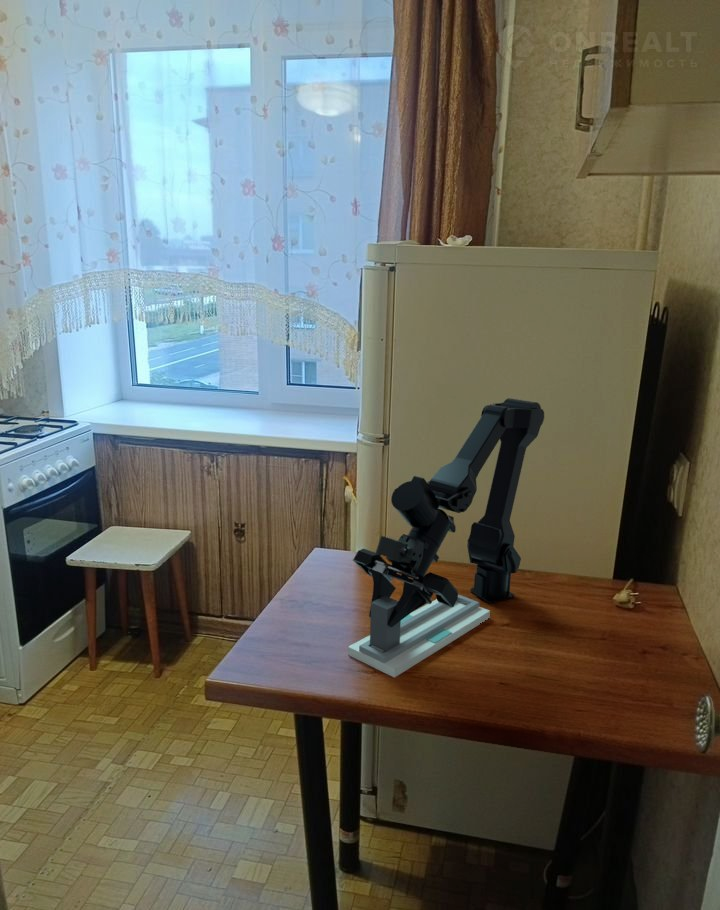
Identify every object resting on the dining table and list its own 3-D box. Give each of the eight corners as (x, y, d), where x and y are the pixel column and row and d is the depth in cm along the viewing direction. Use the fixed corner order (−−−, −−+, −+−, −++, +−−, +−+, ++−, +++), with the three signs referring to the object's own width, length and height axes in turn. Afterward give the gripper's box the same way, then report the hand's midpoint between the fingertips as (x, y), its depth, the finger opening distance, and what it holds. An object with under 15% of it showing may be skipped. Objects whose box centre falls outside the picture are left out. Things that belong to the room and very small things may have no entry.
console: (445, 601, 142) (446, 589, 141) (489, 618, 135) (490, 605, 135) (347, 654, 121) (348, 641, 121) (394, 677, 115) (394, 663, 114)
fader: (384, 640, 123) (385, 595, 121) (400, 648, 121) (402, 601, 119) (368, 649, 120) (370, 603, 118) (384, 657, 118) (386, 609, 116)
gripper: (361, 503, 124) (314, 583, 118) (451, 531, 112) (404, 621, 106) (389, 535, 131) (346, 611, 126) (476, 564, 119) (433, 649, 114)
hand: (380, 622), depth 118 cm, fingers closed on fader, 3 cm apart
